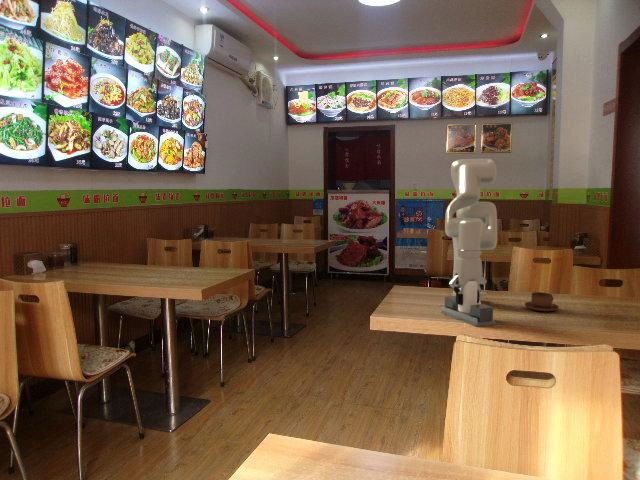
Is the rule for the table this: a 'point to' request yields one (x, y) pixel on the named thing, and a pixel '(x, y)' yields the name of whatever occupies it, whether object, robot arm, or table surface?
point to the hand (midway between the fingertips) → (467, 302)
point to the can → (468, 296)
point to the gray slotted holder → (477, 316)
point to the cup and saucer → (541, 302)
